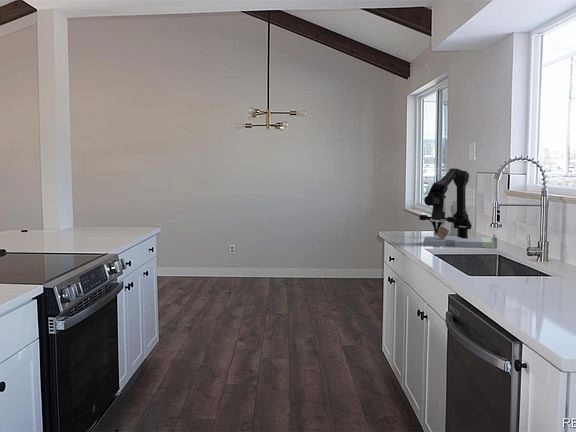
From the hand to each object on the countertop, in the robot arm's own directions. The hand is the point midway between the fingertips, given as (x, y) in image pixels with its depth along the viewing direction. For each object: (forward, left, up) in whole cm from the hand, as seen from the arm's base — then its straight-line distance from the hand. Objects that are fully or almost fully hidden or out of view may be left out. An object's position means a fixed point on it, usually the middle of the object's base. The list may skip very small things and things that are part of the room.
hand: (436, 234), depth 299 cm
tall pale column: (-43, +12, -6) cm, 45 cm away
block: (0, +2, -1) cm, 2 cm away
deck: (-1, +12, -6) cm, 13 cm away
